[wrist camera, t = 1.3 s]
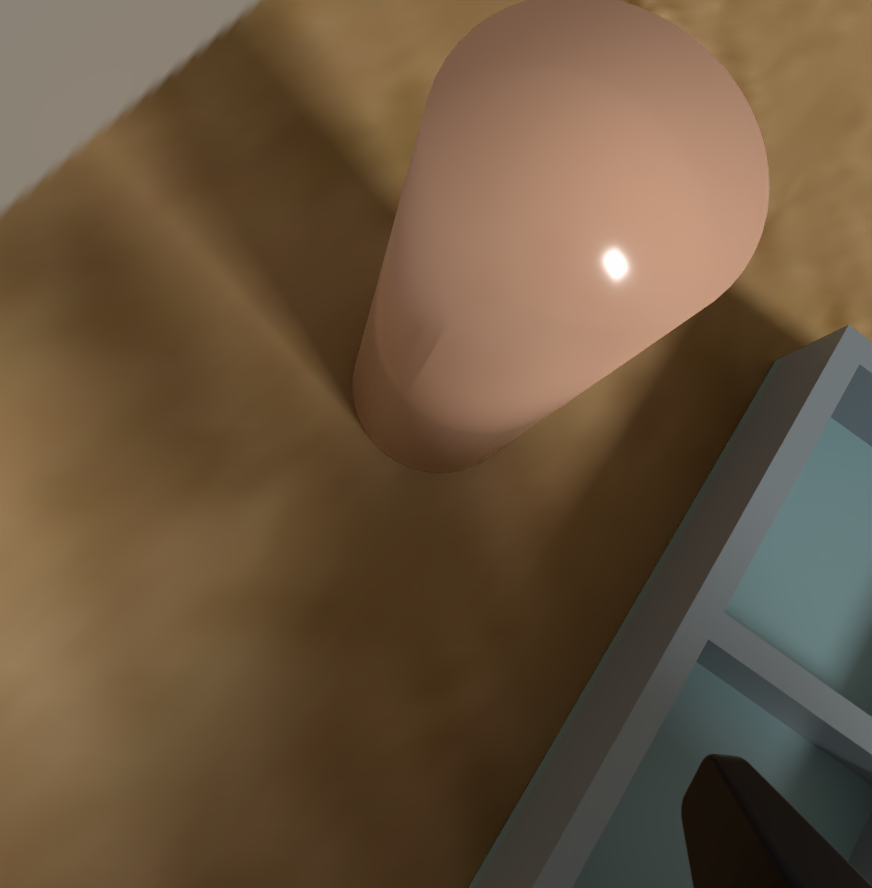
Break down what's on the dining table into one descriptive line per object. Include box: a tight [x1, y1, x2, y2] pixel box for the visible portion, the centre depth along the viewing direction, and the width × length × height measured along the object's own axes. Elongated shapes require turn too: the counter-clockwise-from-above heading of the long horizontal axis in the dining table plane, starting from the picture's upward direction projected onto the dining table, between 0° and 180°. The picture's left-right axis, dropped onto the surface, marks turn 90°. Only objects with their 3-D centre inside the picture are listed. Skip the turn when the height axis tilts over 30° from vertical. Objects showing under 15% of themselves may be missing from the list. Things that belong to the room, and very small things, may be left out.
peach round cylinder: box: [352, 0, 769, 473], centre depth 17 cm, size 5×5×13 cm
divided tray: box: [468, 325, 872, 888], centre depth 22 cm, size 18×10×4 cm, turn 146°
